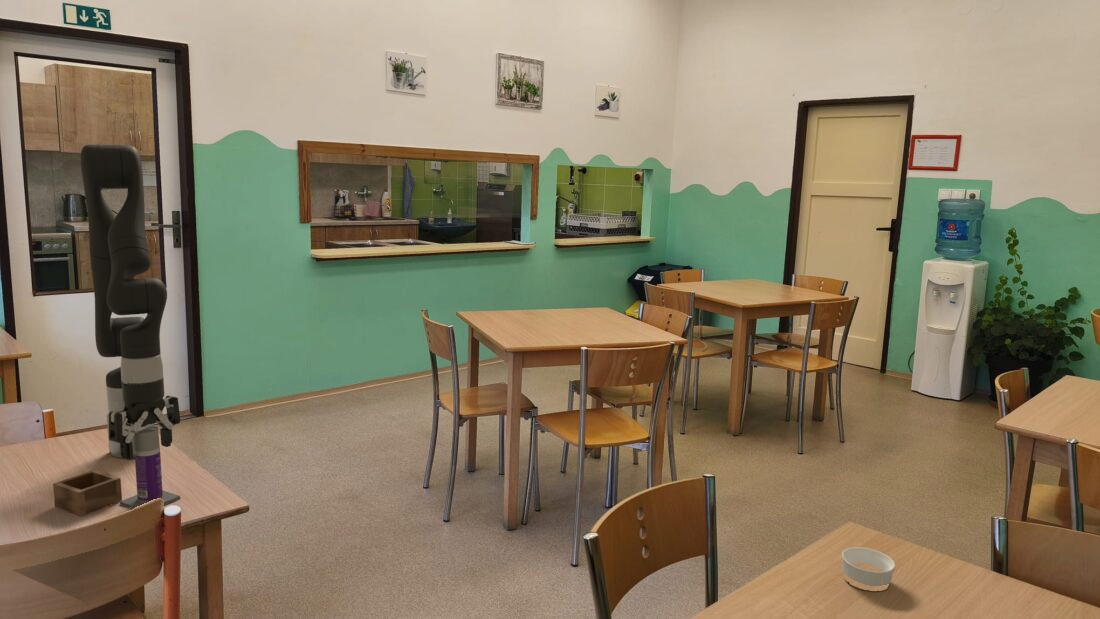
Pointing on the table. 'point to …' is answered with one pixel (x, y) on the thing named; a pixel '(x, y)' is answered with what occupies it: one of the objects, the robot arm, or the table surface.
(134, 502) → the mat
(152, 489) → the container
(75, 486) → the holder
